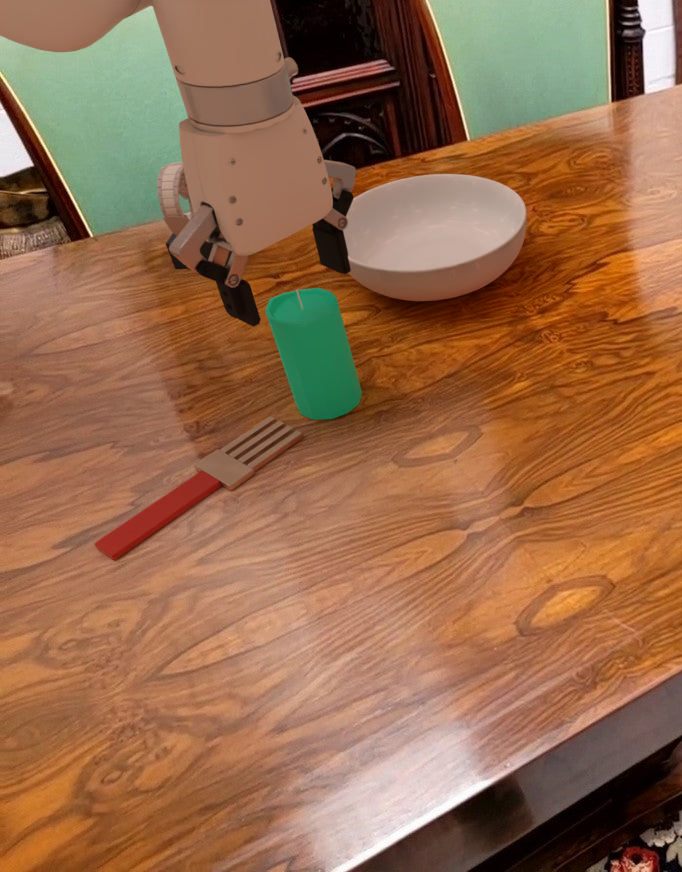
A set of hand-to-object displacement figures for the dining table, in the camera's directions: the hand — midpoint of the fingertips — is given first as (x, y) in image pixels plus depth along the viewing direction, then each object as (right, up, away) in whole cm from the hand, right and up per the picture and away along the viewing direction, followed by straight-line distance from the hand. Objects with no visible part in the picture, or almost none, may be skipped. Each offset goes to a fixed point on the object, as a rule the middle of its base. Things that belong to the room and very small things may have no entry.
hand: (292, 293), depth 80 cm
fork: (-7, -17, -1) cm, 18 cm away
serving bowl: (+7, +6, +24) cm, 26 cm away
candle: (+1, -9, +8) cm, 12 cm away
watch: (-20, +8, +28) cm, 35 cm away
